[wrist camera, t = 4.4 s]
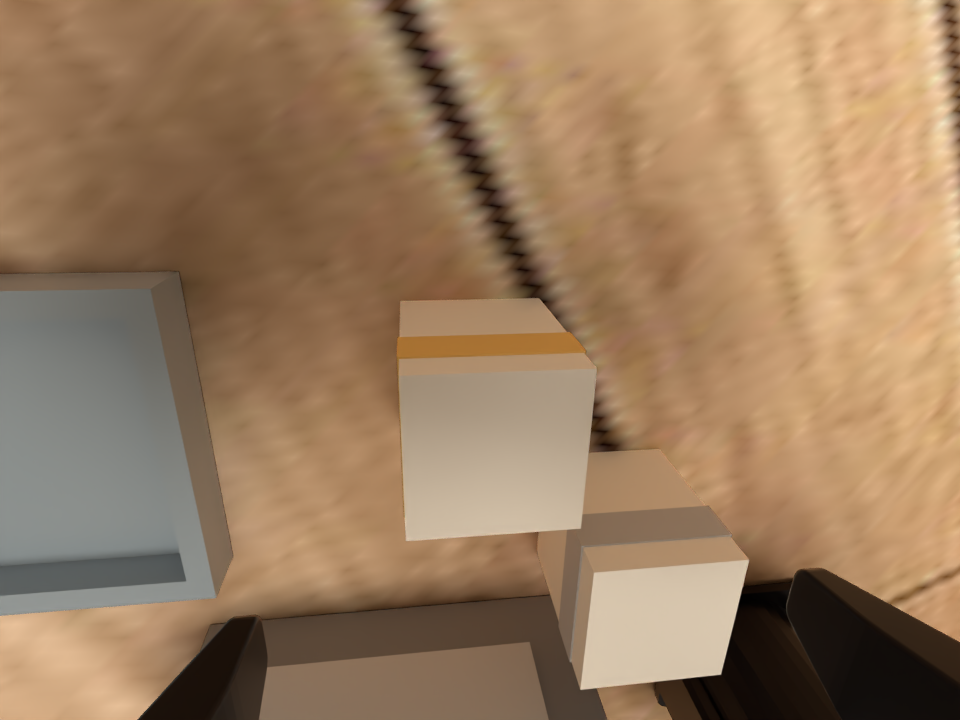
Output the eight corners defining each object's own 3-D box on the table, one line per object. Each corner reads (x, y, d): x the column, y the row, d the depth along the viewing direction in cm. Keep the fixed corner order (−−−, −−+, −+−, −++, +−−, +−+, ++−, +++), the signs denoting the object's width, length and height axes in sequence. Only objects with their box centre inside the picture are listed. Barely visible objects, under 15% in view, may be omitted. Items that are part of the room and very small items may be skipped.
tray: (178, 271, 16) (149, 288, 15) (233, 556, 20) (215, 597, 19) (-233, 277, 15) (-321, 296, 13) (-90, 579, 19) (-142, 627, 17)
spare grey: (660, 447, 21) (751, 558, 16) (645, 544, 23) (722, 675, 17) (542, 453, 21) (592, 571, 15) (535, 552, 22) (578, 691, 17)
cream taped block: (540, 296, 18) (599, 366, 13) (533, 420, 20) (582, 530, 14) (398, 299, 18) (396, 374, 12) (403, 426, 19) (403, 543, 14)
